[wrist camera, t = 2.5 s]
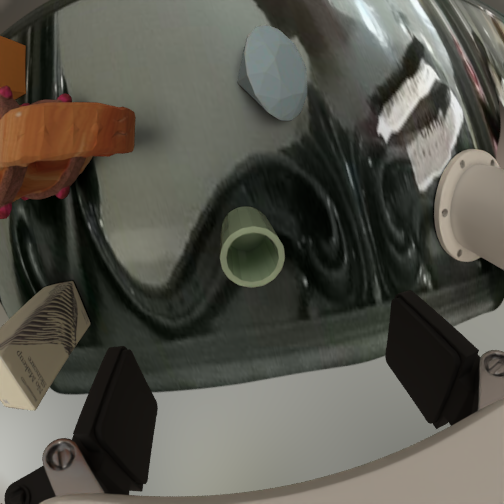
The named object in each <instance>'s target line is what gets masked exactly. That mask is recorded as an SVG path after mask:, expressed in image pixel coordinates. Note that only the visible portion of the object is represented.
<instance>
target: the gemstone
mask: <svg viewBox="0 0 504 504" xmlns="http://www.w3.org/2000/svg"><path fill="white" fill-rule="evenodd" d="M237 83H238V84H239V85H240V86H241V87H243V88H244V89H245V90H246V91H247V92H248V93H249V94H250V95H251V96H252V97H253V98H254V99H255V100H256V101H257V102H258V103H259V104H260V105H261V106H262V107H263V108H264V109H265V110H266V111H267V112H268V113H270V114H271V115H273V116H274V117H276V118H277V119H279V120H288V121H292V120H293V119H294V118H295V117H296V116H298V115H299V114H300V112H301V110H302V107H303V105H304V102H305V99H306V96H307V74H306V67H305V64H304V62H303V60H302V58H301V56H300V54H299V52H298V50H297V48H296V46H295V44H294V43H293V42H292V41H291V40H290V39H289V38H288V37H287V36H285V35H284V34H283V33H282V32H281V31H280V30H278V29H276V28H274V27H271V26H269V25H262V26H258V27H255V28H254V29H253V31H252V32H251V33H250V34H249V35H248V37H247V40H246V44H245V49H244V53H243V57H242V61H241V66H240V71H239V76H238V81H237Z"/></svg>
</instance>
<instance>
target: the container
mask: <svg viewBox="0 0 504 504" xmlns="http://www.w3.org/2000/svg"><path fill="white" fill-rule="evenodd" d="M25 53H26V46H25V45H22V44H20V43H17V42H15V41H12V40H10V39H7V38H4V37H2V36H0V88H1V87H3V86H6V85H7V86H8V87H10V89H11V91H12V94H13V99H14V100H15V99H17V98H19V97H21V96H22V95H24V94H26V84H25Z"/></svg>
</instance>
